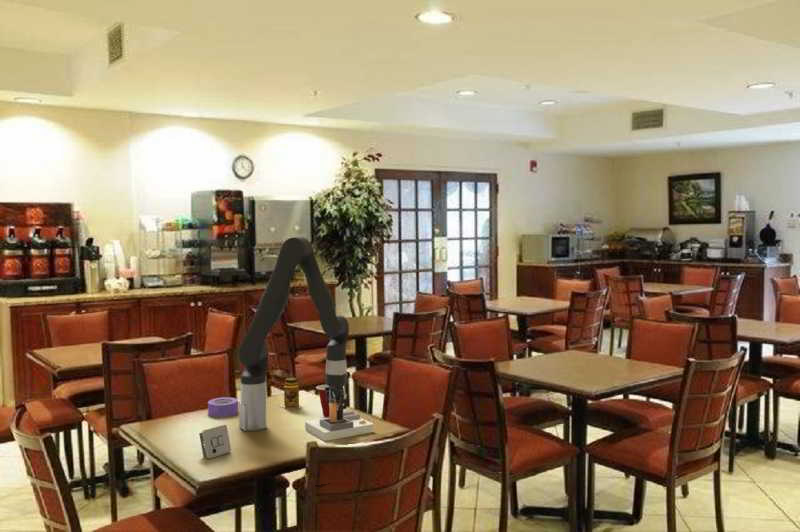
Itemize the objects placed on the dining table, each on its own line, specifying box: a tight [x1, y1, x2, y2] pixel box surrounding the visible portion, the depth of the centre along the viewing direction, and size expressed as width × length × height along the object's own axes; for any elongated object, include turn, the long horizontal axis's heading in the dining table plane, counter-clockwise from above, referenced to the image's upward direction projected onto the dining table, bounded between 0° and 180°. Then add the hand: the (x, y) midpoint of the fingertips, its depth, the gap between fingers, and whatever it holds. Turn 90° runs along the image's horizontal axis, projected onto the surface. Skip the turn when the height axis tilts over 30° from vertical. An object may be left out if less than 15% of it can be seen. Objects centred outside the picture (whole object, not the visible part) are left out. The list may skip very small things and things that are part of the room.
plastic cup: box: [316, 383, 340, 418], centre depth 272 cm, size 11×11×12 cm
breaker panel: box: [304, 410, 375, 442], centre depth 251 cm, size 20×16×5 cm
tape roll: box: [207, 396, 239, 418], centre depth 275 cm, size 12×12×5 cm
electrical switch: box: [198, 424, 232, 460], centre depth 225 cm, size 9×5×9 cm, turn 141°
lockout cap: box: [330, 402, 343, 422], centre depth 246 cm, size 5×5×6 cm
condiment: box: [278, 377, 303, 411], centre depth 285 cm, size 7×8×12 cm
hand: (336, 418), depth 247 cm, fingers closed on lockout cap, 4 cm apart
